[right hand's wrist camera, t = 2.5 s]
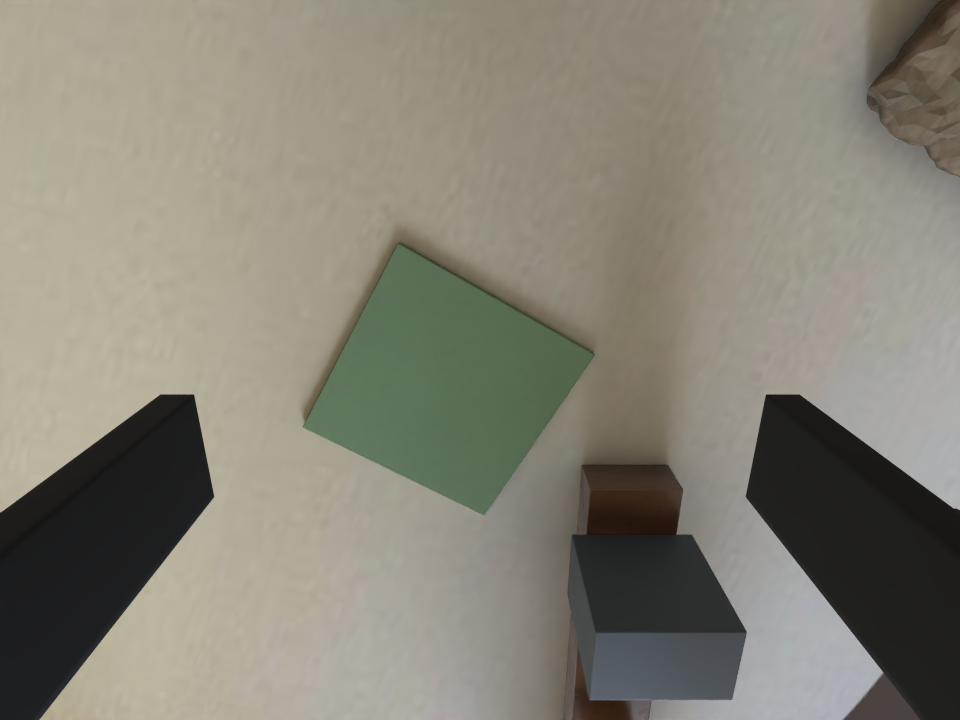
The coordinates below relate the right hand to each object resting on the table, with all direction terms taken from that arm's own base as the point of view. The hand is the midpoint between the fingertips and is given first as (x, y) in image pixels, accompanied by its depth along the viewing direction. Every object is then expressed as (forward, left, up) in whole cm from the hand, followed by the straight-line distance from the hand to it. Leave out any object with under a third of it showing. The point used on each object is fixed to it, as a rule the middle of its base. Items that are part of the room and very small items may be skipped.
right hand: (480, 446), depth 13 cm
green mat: (+8, +2, -22) cm, 23 cm away
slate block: (+12, +18, -19) cm, 29 cm away
